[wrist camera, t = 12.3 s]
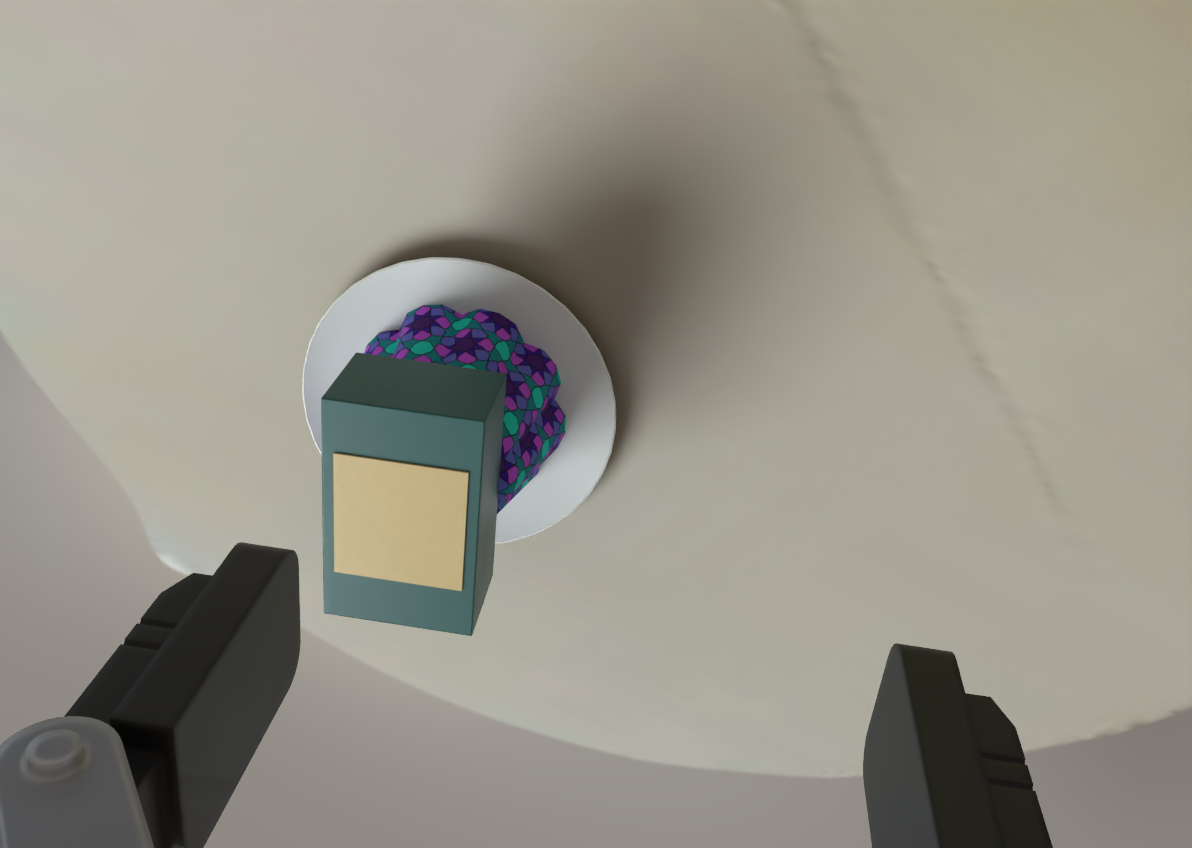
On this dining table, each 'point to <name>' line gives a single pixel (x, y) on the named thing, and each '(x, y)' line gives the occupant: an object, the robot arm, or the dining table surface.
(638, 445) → the dining table surface
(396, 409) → the packet
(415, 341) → the pudding
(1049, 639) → the dining table surface
